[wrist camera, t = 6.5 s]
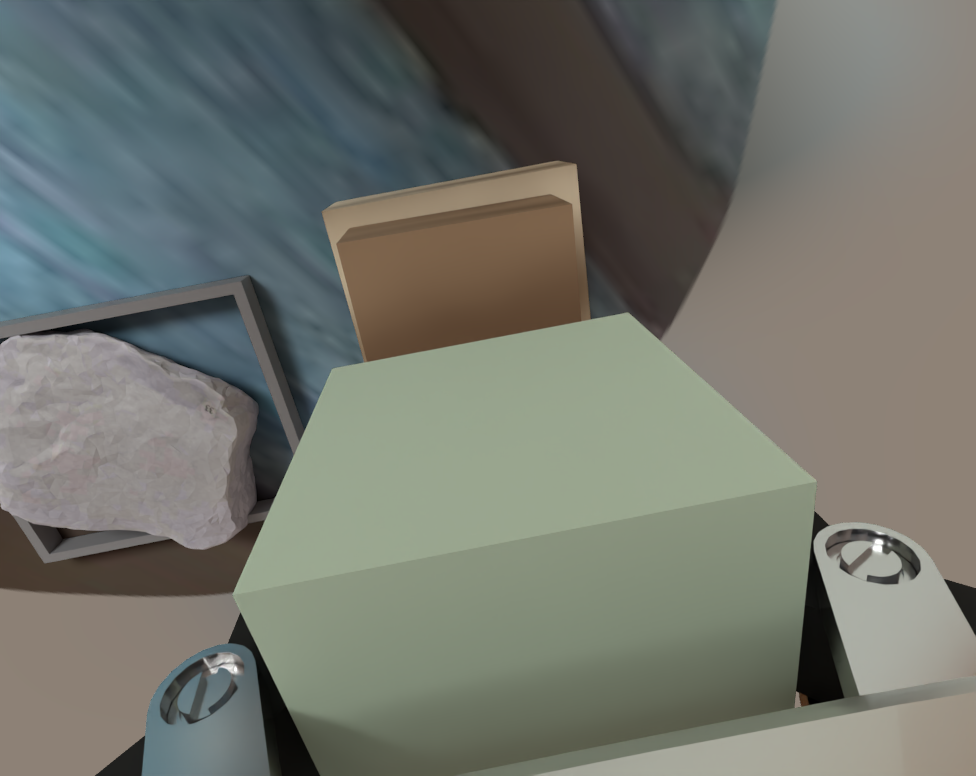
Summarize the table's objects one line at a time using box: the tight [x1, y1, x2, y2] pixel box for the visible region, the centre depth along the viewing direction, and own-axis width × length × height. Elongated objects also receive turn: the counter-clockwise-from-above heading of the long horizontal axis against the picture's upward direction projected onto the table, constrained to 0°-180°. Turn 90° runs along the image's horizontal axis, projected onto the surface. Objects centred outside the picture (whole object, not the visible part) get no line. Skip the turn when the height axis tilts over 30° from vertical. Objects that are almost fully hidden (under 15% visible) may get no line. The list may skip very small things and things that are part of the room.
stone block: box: [0, 328, 259, 549], centre depth 27 cm, size 12×5×10 cm
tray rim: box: [0, 275, 304, 563], centre depth 27 cm, size 12×15×1 cm
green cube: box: [232, 313, 817, 776], centre depth 10 cm, size 6×6×6 cm
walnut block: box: [336, 194, 581, 362], centre depth 22 cm, size 8×8×4 cm
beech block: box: [322, 161, 591, 363], centre depth 25 cm, size 10×10×4 cm
